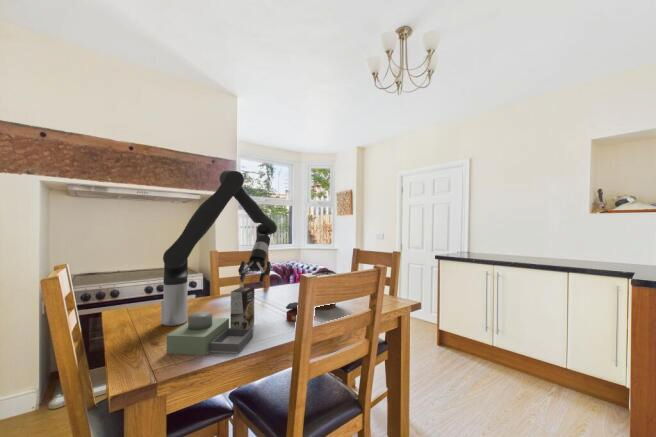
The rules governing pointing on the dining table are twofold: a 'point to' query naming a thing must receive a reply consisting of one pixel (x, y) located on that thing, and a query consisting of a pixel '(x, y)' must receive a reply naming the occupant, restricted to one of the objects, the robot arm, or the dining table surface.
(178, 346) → the grey-green blocky piece
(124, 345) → the dining table surface
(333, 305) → the case
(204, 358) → the dining table surface
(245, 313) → the coffee box
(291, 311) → the canned food
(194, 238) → the robot arm
